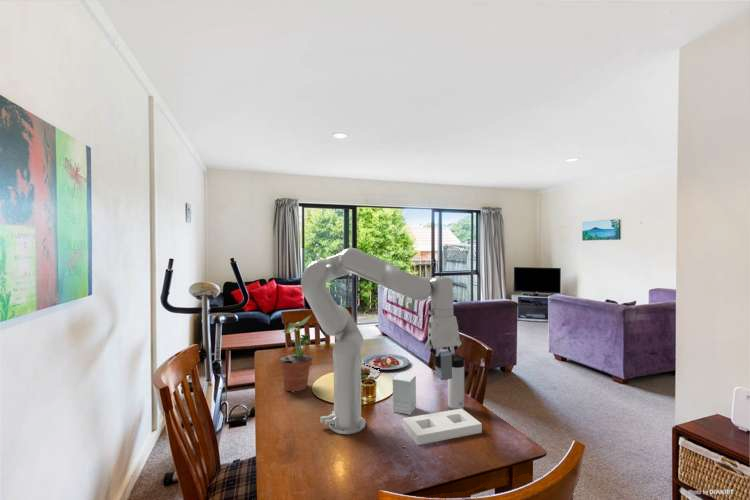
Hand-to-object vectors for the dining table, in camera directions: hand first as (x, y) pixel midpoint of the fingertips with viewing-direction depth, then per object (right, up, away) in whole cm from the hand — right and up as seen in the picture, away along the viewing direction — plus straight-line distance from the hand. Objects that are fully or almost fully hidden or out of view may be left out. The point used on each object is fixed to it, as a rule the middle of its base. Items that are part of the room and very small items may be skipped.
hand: (443, 365), depth 119 cm
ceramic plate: (-18, -23, +69) cm, 75 cm away
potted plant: (-60, -22, +37) cm, 74 cm away
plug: (0, -4, 0) cm, 4 cm away
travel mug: (+8, -22, +17) cm, 29 cm away
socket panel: (-1, -22, 0) cm, 22 cm away
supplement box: (-12, -22, +15) cm, 30 cm away
